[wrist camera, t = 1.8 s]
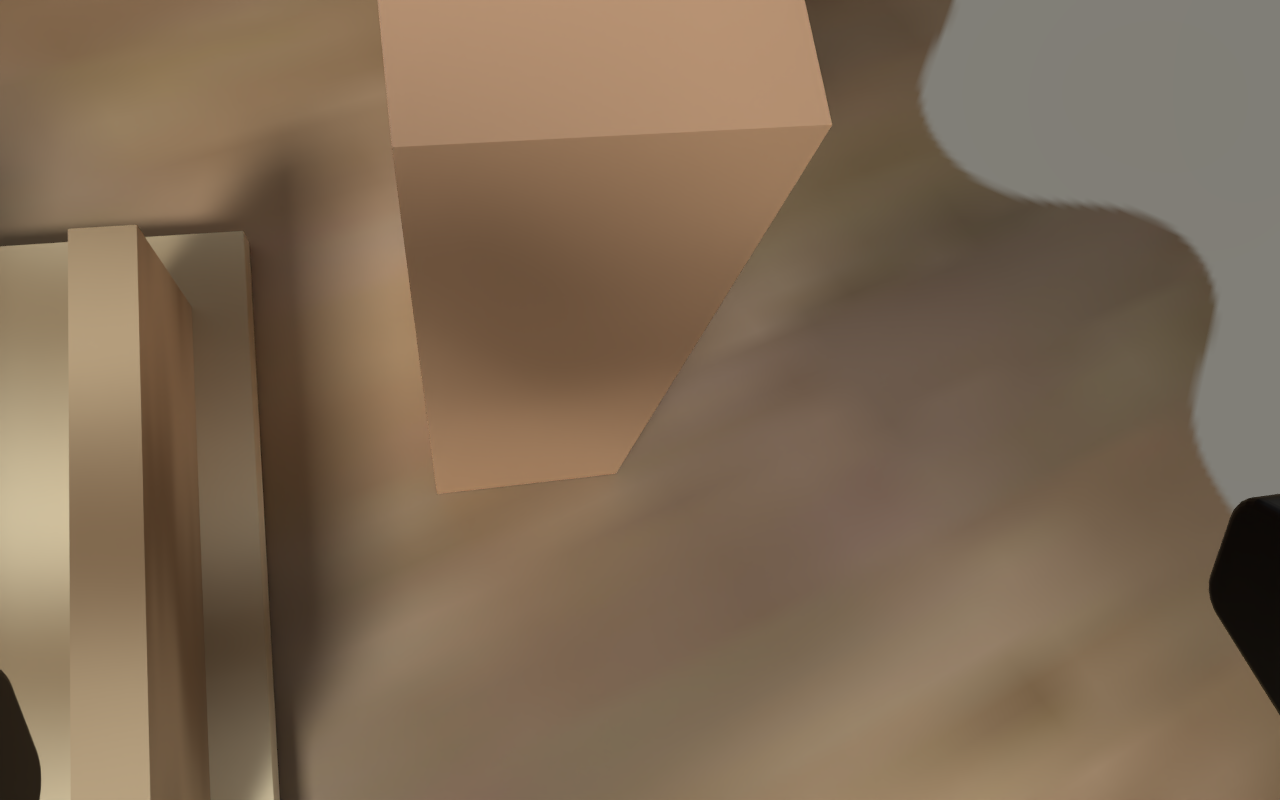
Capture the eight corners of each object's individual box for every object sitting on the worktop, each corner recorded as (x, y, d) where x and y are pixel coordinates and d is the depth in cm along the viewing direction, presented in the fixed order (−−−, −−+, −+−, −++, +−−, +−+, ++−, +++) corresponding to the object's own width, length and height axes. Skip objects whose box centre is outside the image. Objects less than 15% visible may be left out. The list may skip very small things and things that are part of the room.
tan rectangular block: (582, 243, 22) (727, -349, 10) (615, 474, 21) (832, 125, 9) (413, 255, 21) (342, -363, 9) (436, 494, 20) (391, 147, 8)
